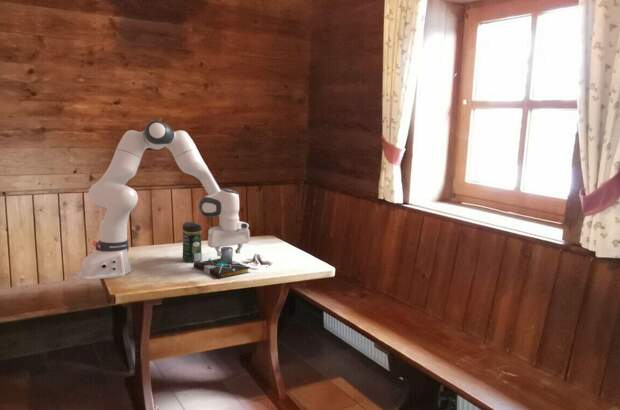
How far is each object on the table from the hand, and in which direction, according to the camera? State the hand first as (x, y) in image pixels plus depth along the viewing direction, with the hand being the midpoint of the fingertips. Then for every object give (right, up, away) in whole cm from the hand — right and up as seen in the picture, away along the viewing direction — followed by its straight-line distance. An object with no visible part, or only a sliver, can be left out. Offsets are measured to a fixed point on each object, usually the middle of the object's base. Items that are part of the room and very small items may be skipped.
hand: (228, 254), depth 237 cm
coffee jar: (-20, -4, +14) cm, 25 cm away
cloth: (+13, -6, +13) cm, 20 cm away
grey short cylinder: (-1, -4, +1) cm, 4 cm away
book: (-3, -8, 0) cm, 9 cm away
